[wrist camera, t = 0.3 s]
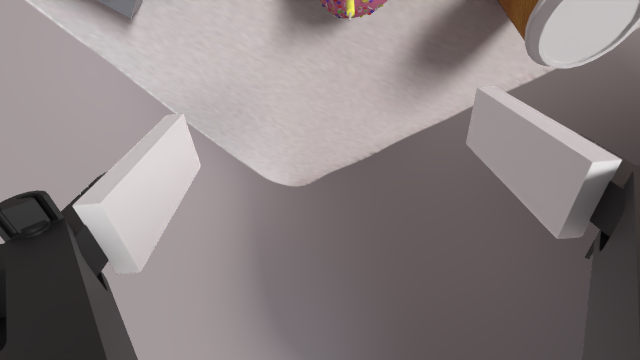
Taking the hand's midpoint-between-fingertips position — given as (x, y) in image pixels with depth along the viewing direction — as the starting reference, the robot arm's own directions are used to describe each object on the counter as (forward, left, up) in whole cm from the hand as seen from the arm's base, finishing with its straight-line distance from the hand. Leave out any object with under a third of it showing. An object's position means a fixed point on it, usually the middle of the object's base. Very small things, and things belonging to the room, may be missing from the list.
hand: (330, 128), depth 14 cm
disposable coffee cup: (-13, +20, -27) cm, 36 cm away
